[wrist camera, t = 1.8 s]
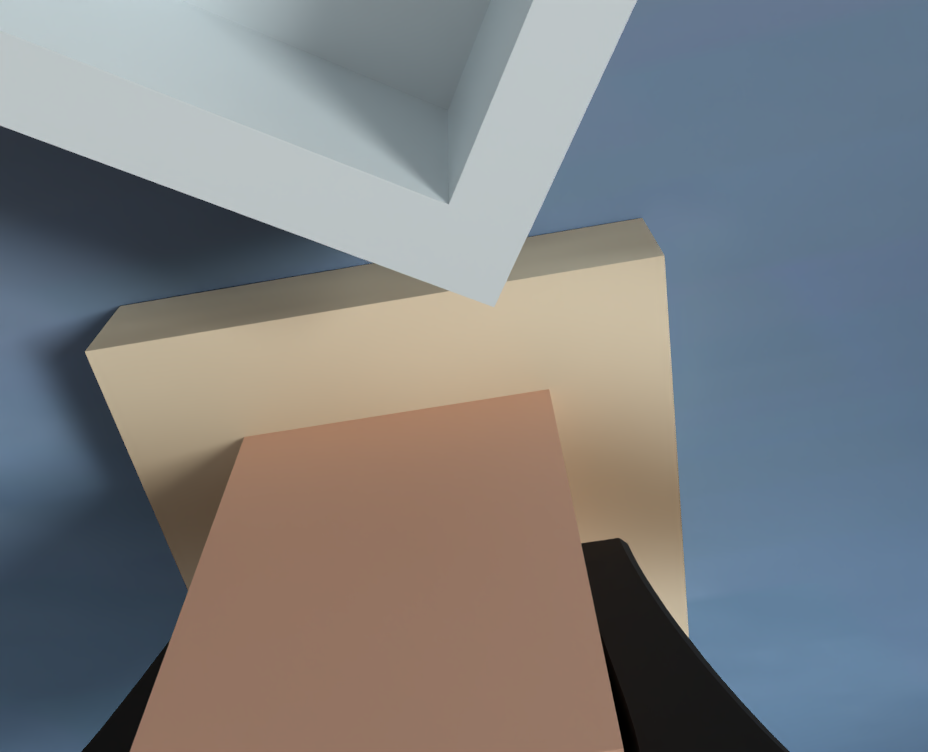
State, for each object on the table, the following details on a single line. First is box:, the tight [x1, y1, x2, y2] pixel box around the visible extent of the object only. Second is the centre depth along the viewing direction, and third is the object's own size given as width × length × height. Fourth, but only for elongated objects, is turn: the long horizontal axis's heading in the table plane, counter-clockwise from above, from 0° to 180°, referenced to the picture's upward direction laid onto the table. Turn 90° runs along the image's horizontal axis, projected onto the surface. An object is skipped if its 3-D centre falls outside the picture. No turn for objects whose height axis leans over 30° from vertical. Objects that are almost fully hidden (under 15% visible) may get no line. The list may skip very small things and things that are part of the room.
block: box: [130, 389, 624, 752], centre depth 11 cm, size 4×4×6 cm
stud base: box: [85, 218, 689, 638], centre depth 13 cm, size 8×8×5 cm
